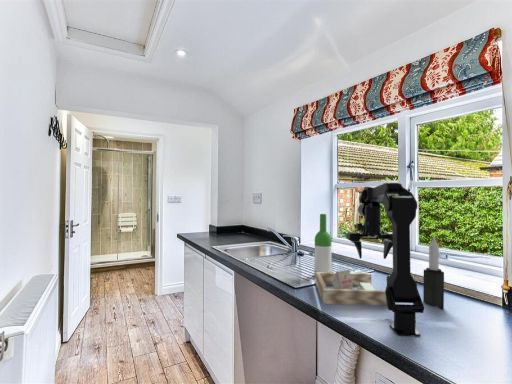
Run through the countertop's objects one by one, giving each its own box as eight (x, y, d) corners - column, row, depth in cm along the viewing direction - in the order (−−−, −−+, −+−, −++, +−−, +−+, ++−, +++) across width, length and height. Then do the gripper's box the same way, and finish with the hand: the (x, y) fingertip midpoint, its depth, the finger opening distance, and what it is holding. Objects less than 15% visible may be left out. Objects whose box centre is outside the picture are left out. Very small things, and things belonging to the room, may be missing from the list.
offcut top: (369, 287, 120) (369, 282, 120) (379, 300, 106) (379, 295, 106) (359, 287, 121) (359, 282, 121) (368, 300, 107) (368, 294, 107)
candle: (433, 310, 101) (434, 238, 101) (421, 304, 106) (422, 235, 106) (445, 308, 102) (446, 237, 102) (433, 303, 107) (433, 235, 107)
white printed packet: (332, 296, 114) (332, 270, 114) (345, 293, 117) (345, 268, 117) (339, 299, 111) (339, 273, 111) (352, 296, 114) (352, 270, 114)
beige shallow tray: (370, 287, 124) (370, 273, 124) (390, 308, 102) (390, 291, 102) (315, 285, 126) (315, 272, 126) (323, 306, 104) (323, 290, 103)
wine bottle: (320, 281, 132) (320, 215, 132) (311, 276, 140) (311, 213, 139) (334, 279, 135) (335, 214, 135) (324, 274, 142) (325, 213, 142)
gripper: (389, 217, 122) (389, 254, 122) (343, 216, 123) (343, 253, 123) (400, 219, 111) (400, 260, 111) (350, 219, 112) (350, 260, 112)
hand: (372, 258), depth 114 cm, fingers open, 9 cm apart
